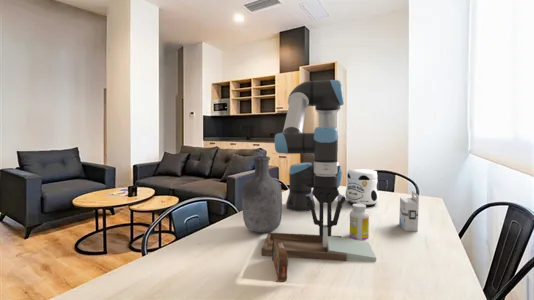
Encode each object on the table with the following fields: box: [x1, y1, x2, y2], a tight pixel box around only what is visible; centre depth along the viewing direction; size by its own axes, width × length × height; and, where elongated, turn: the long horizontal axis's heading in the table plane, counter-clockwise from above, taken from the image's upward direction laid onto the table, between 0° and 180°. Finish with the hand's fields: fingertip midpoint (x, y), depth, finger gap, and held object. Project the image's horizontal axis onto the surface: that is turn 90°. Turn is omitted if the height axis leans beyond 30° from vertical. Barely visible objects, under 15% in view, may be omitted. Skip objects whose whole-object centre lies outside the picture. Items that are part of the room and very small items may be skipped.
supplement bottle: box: [349, 204, 370, 241], centre depth 101 cm, size 7×7×13 cm
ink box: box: [398, 190, 420, 232], centre depth 112 cm, size 9×5×15 cm, turn 168°
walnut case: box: [260, 232, 347, 262], centre depth 91 cm, size 15×26×3 cm, turn 81°
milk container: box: [344, 168, 380, 207], centre depth 149 cm, size 17×17×18 cm
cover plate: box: [327, 235, 377, 262], centre depth 89 cm, size 12×14×2 cm
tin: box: [271, 239, 289, 282], centre depth 77 cm, size 15×3×8 cm, turn 5°
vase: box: [241, 155, 283, 234], centre depth 110 cm, size 16×16×30 cm
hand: (325, 245), depth 90 cm, fingers closed
